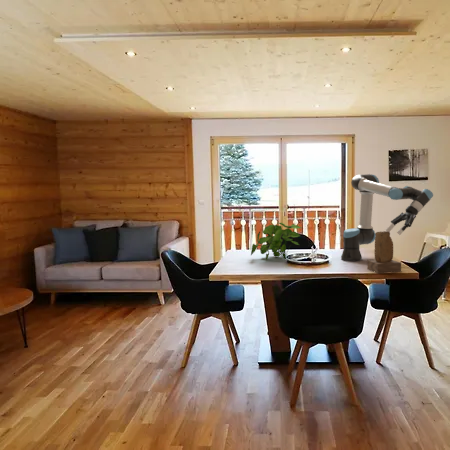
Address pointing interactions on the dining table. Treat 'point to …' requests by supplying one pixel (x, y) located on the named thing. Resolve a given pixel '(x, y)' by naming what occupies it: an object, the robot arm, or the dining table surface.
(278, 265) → the dining table surface
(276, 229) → the indoor plant
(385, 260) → the block
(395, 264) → the block
